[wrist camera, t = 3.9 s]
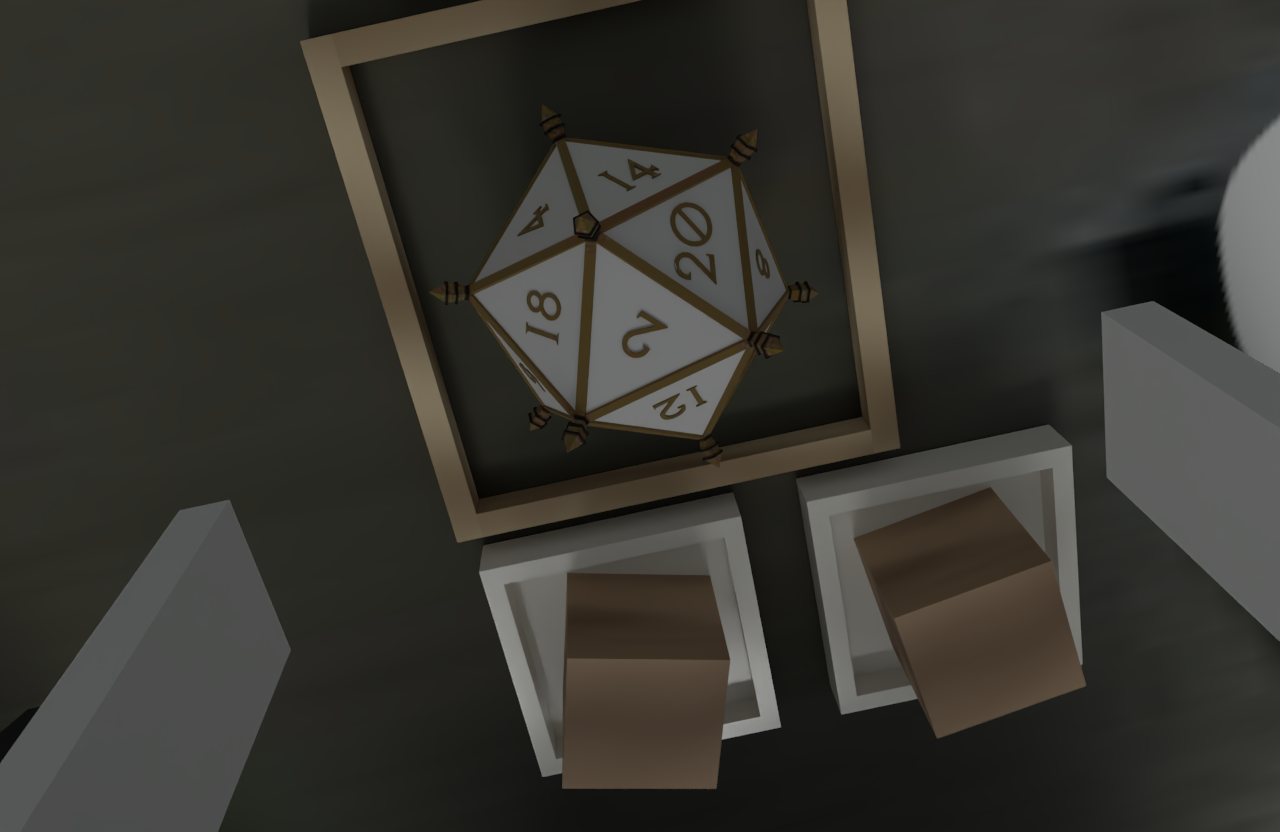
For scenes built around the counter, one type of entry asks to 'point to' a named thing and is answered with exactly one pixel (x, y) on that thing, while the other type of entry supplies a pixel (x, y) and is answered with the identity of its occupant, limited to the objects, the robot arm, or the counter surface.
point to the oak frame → (328, 59)
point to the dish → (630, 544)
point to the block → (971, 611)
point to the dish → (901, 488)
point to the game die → (632, 287)
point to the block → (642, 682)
